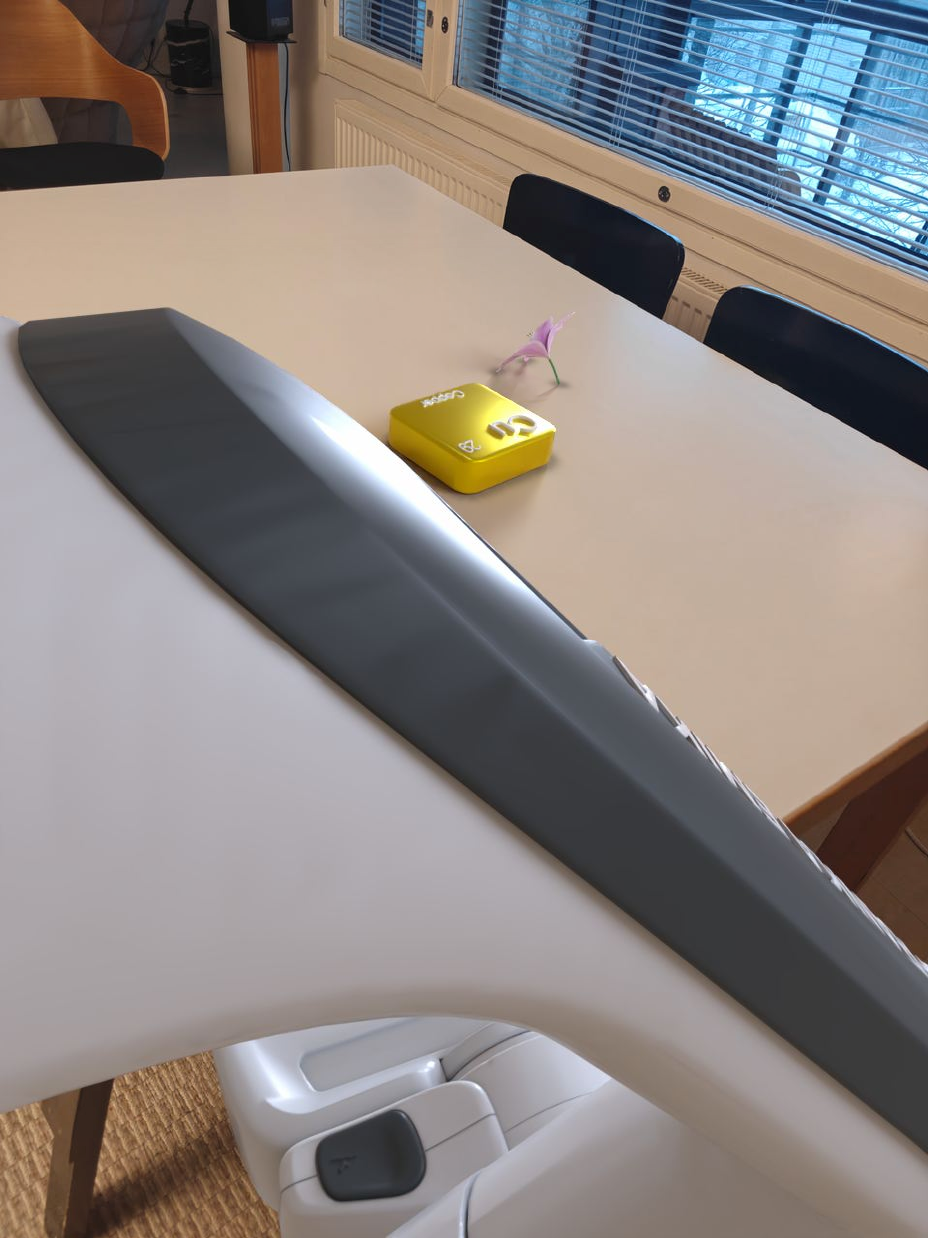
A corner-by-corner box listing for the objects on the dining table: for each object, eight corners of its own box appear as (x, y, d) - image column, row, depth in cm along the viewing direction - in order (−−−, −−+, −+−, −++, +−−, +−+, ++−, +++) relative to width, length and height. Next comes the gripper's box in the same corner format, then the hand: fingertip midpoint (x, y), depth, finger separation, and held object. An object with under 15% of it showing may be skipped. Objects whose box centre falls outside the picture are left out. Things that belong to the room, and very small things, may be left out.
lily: (567, 365, 127) (547, 301, 123) (609, 368, 116) (588, 298, 112) (498, 399, 124) (475, 335, 120) (534, 405, 114) (510, 335, 110)
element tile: (472, 410, 111) (476, 375, 108) (556, 461, 103) (564, 425, 100) (380, 441, 102) (382, 404, 99) (465, 499, 95) (470, 461, 92)
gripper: (815, 1001, 31) (621, 753, 41) (230, 1231, 24) (180, 867, 35) (776, 1096, 34) (606, 844, 45) (255, 1320, 28) (202, 963, 38)
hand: (416, 855), depth 40 cm, fingers open, 8 cm apart
